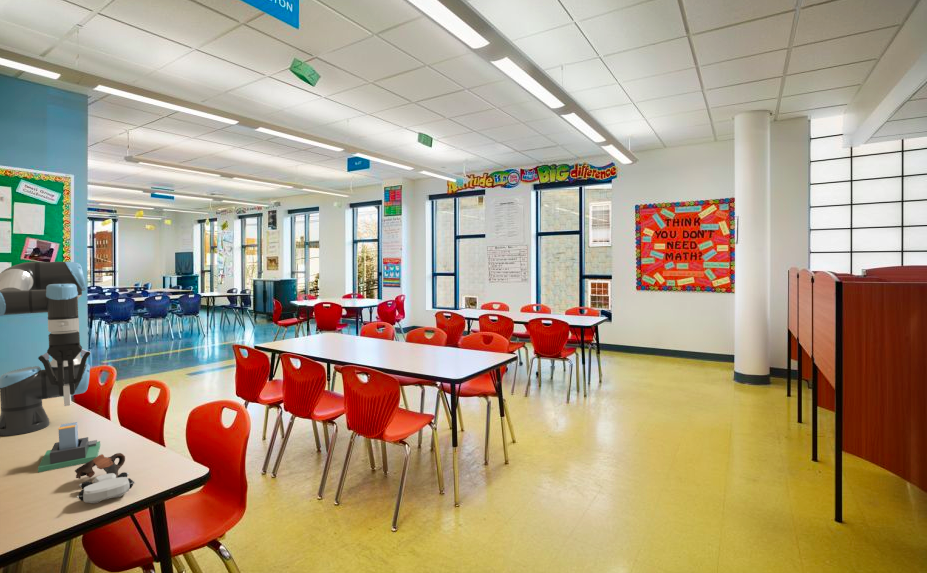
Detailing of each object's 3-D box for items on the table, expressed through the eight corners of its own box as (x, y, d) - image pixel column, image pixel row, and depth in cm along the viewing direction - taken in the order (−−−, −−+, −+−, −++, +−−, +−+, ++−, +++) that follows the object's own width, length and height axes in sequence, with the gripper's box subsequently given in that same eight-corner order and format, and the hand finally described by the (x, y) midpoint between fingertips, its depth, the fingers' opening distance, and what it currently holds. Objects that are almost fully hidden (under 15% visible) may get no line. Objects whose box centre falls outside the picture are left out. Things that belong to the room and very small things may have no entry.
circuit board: (47, 454, 155) (46, 440, 155) (100, 445, 163) (99, 431, 163) (38, 472, 142) (37, 456, 142) (96, 460, 150) (95, 445, 149)
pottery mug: (95, 491, 130) (78, 467, 130) (82, 499, 135) (65, 475, 134) (137, 464, 141) (121, 441, 140) (124, 472, 145) (108, 450, 145)
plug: (62, 454, 152) (61, 423, 151) (78, 451, 154) (77, 421, 154) (60, 460, 147) (58, 429, 146) (76, 457, 149) (74, 426, 149)
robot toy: (77, 495, 129) (77, 512, 118) (76, 478, 129) (76, 494, 118) (131, 481, 137) (136, 496, 126) (130, 466, 137) (135, 480, 126)
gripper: (34, 335, 142) (38, 411, 143) (88, 331, 149) (92, 403, 150) (38, 332, 148) (42, 405, 149) (91, 328, 155) (94, 398, 157)
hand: (67, 404), depth 150 cm, fingers closed
